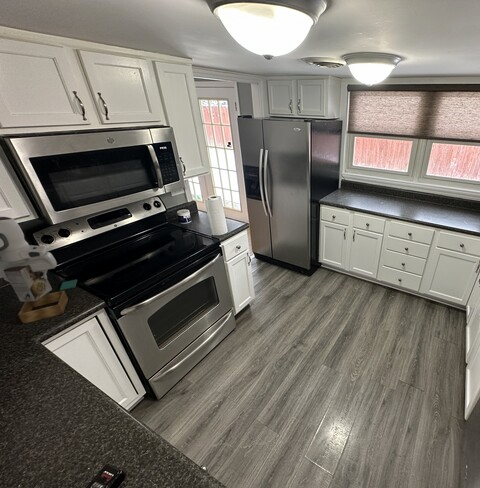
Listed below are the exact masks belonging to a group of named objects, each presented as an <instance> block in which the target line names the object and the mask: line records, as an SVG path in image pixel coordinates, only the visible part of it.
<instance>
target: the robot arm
mask: <svg viewBox="0 0 480 488" xmlns="http://www.w3.org/2000/svg"><path fill="white" fill-rule="evenodd" d="M26 265H30V267H31V269H32V271H33V272H37V271H42V273H43V272H44V274H43V275H41V276H40V277H41V278H42V279H47V280H48V275H47V273H48V270H52V269H56V267H57V265H58V262H57V260H56V258H55V257H54V255H53V254H52V253H51V252H49V251H48V248H47V246H46V245H33V244H29V242H27V240H26V239H25V234H24V232H23V230H22V228H21V226H20V225H19V223H18V222H17V221H16V220H15V219H14V218H12V217H8V216H0V279H3V280H4V281H6V282H8V283H10V281H9V280H8V278H7V276H6V274H5V272H4V271H3V270H5V269H7V268H11V267H17V266H26Z"/></svg>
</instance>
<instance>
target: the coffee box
mask: <svg viewBox="0 0 480 488" xmlns="http://www.w3.org/2000/svg"><path fill="white" fill-rule="evenodd" d="M3 271H4V272H5V274H6V276H7V278H8V280H9V281H10V282H9V284H10V285H11V287H12V288H13V290H14V292H15V294H16V296H17V298H18V300H19V302H25V301H37V300H38V299H40V298H41V297H42V296H44V295H46V294H49V293H50V292H51V291H52V290H53V288H52V286H51V284H50V282H49V280H48V278H47V279H42V278H41V277H40V276H41V275H43V274H44V272H43V273H42V271H37V272H33V271H32V269H31V267H30V265H26V266H17V267H11V268H7V269H5V270H3Z"/></svg>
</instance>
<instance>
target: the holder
mask: <svg viewBox="0 0 480 488" xmlns="http://www.w3.org/2000/svg"><path fill="white" fill-rule="evenodd" d="M68 299H69V297H68V296H67V293H66V291H65V290H61V291H60V290H59V291H56V292H51V293H50V292H49V293H47V294H45V295H44V296H42V297H41V298H40V299H38V300H37V301H24V303H23V304H22V307H20V309H19V312H18V313H17V316H18V317H19V319H20V321H21V323H22V324H28V323H33V322H36V321H39V320H45V319H47V318H51V317H55V316H59V315H62V314H64V312H65V309H66V307H67V304H68V301H69V300H68ZM57 302H58V303H57ZM53 303H57V304H55V305H50V306H47V307H42V308H38V307H41V306H45V305H49V304H53ZM36 307H37V308H38V309H34V310H33V308H36Z"/></svg>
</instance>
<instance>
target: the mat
mask: <svg viewBox="0 0 480 488" xmlns="http://www.w3.org/2000/svg"><path fill="white" fill-rule="evenodd" d="M77 282H78V279H72V280H67V281H63V282H62V283H61V285H60V288H59V291H65V290H70V289H74V288H76V286H77Z"/></svg>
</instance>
